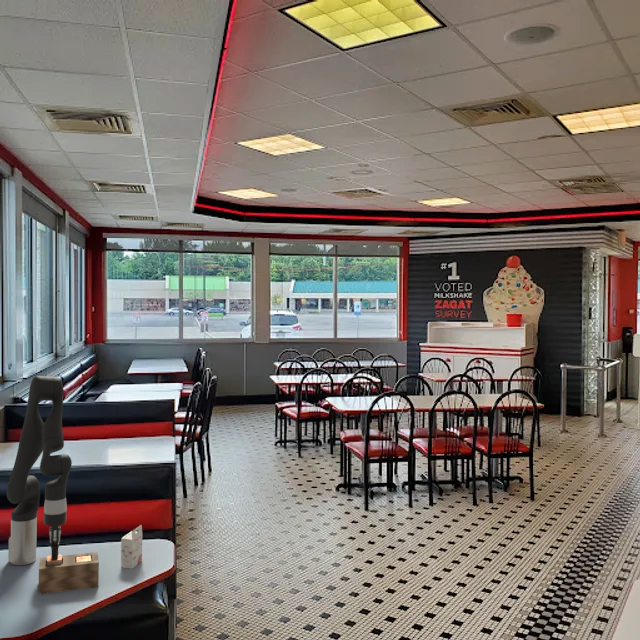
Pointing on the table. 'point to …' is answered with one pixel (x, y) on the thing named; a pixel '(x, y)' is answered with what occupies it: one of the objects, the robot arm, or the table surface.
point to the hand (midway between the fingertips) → (54, 557)
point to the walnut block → (69, 574)
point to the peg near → (54, 560)
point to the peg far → (83, 559)
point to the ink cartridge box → (131, 548)
